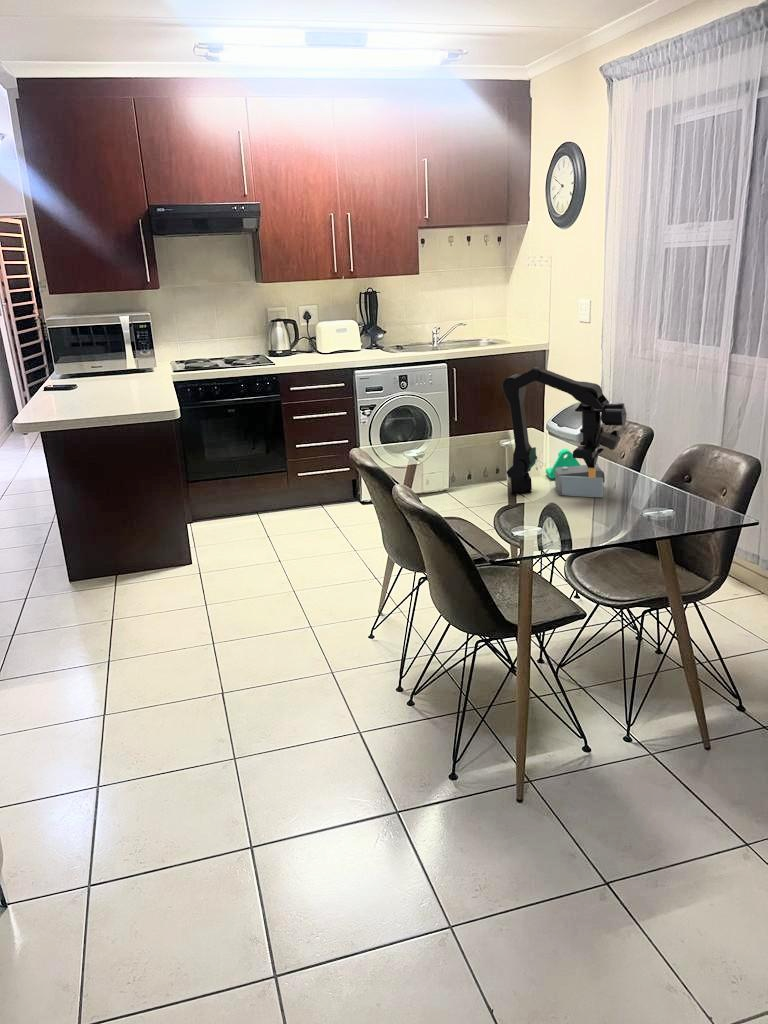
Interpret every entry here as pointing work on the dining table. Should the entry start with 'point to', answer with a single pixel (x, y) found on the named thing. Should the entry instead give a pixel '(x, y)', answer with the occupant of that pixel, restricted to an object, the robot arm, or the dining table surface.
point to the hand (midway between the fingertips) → (592, 471)
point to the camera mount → (562, 462)
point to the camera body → (576, 472)
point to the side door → (581, 485)
